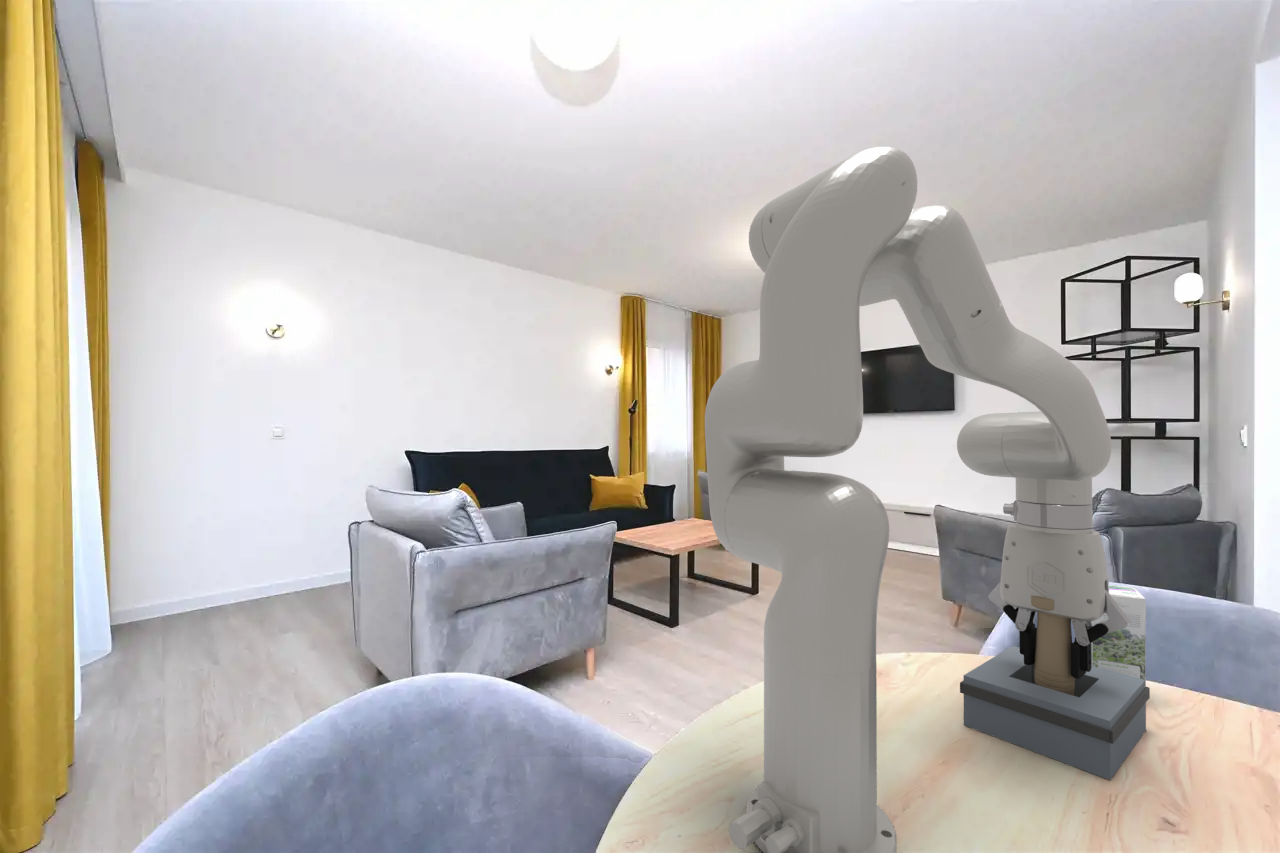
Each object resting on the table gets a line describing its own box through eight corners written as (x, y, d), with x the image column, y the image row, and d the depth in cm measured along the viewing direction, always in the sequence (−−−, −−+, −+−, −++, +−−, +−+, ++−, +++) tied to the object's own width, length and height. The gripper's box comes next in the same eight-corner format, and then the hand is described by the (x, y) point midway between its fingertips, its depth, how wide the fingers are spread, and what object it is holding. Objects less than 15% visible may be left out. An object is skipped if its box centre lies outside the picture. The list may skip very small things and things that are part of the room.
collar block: (1113, 782, 57) (1112, 723, 58) (960, 724, 69) (959, 675, 69) (1149, 730, 68) (1149, 679, 68) (1011, 687, 79) (1011, 644, 79)
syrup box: (1132, 690, 79) (1131, 585, 79) (1147, 708, 73) (1146, 595, 74) (1081, 681, 81) (1080, 580, 81) (1092, 698, 76) (1091, 590, 76)
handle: (1094, 725, 67) (1094, 598, 67) (1053, 733, 65) (1053, 601, 65) (1054, 706, 72) (1054, 587, 72) (1015, 713, 70) (1015, 590, 70)
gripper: (965, 512, 73) (966, 655, 73) (1136, 529, 60) (1138, 703, 60) (989, 507, 78) (990, 641, 77) (1151, 522, 65) (1153, 684, 64)
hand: (1054, 667), depth 69 cm, fingers open, 4 cm apart
